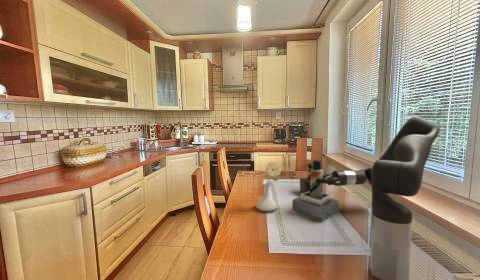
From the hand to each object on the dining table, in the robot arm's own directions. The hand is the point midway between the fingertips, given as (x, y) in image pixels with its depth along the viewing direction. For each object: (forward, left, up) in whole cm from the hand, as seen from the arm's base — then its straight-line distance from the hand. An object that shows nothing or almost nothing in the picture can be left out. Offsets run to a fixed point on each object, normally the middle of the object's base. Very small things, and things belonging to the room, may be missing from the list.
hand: (312, 179), depth 103 cm
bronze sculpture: (+26, +17, -17) cm, 35 cm away
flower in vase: (-13, +17, -17) cm, 28 cm away
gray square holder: (+2, -1, -17) cm, 17 cm away
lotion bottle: (+2, -1, -11) cm, 11 cm away
